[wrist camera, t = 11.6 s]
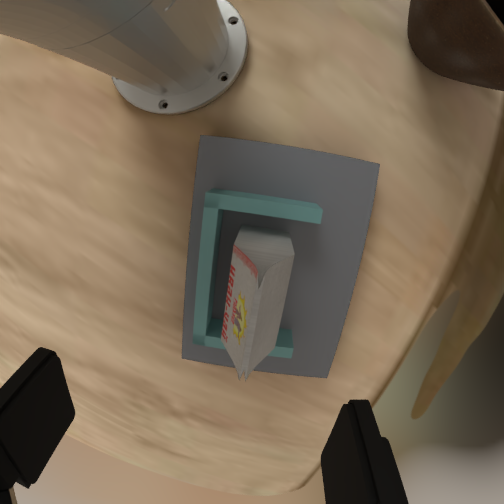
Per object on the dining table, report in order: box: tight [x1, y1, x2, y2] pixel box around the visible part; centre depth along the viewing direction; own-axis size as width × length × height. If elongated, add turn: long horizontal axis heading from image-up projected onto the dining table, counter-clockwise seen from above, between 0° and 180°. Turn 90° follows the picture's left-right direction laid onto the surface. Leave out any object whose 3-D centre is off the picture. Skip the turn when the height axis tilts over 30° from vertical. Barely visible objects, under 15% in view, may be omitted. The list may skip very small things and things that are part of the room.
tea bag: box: [221, 224, 295, 381], centre depth 21 cm, size 4×7×10 cm, turn 171°
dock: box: [182, 135, 380, 378], centre depth 26 cm, size 20×14×6 cm
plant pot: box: [408, 0, 504, 91], centre depth 14 cm, size 15×15×16 cm
